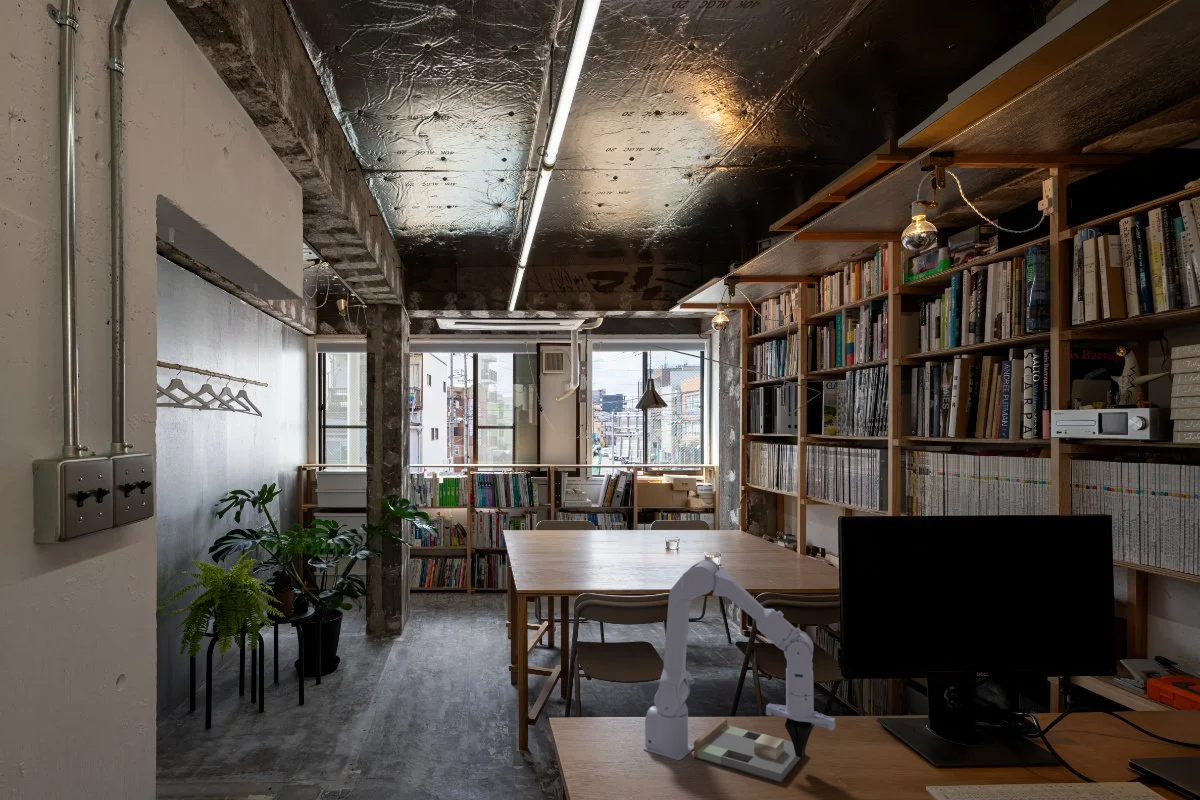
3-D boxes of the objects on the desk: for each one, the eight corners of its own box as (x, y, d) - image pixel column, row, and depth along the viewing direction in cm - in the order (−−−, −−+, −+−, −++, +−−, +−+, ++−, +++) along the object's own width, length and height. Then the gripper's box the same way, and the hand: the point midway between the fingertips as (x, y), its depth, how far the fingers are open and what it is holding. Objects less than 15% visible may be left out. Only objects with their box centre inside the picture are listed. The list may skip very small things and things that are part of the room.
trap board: (693, 758, 157) (693, 742, 157) (723, 732, 170) (723, 717, 170) (780, 783, 145) (780, 766, 146) (805, 754, 159) (805, 738, 159)
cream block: (754, 753, 154) (754, 741, 155) (762, 745, 159) (762, 733, 159) (776, 759, 152) (776, 747, 152) (783, 750, 156) (783, 739, 156)
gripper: (838, 692, 151) (839, 757, 151) (773, 679, 159) (774, 740, 159) (829, 703, 145) (830, 770, 145) (762, 688, 153) (762, 751, 153)
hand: (800, 755), depth 151 cm, fingers closed
